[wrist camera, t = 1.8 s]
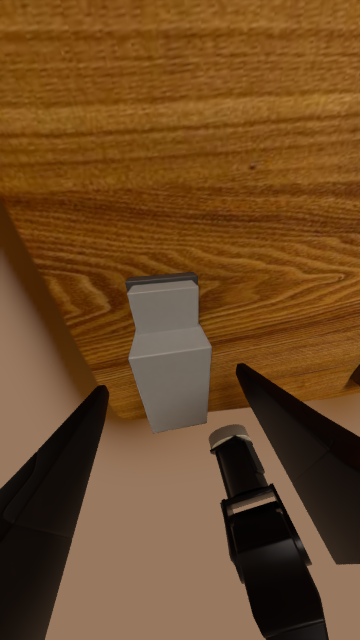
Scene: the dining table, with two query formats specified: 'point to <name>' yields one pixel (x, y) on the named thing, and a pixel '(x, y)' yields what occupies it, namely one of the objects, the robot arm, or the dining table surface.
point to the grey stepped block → (169, 350)
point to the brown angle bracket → (356, 376)
